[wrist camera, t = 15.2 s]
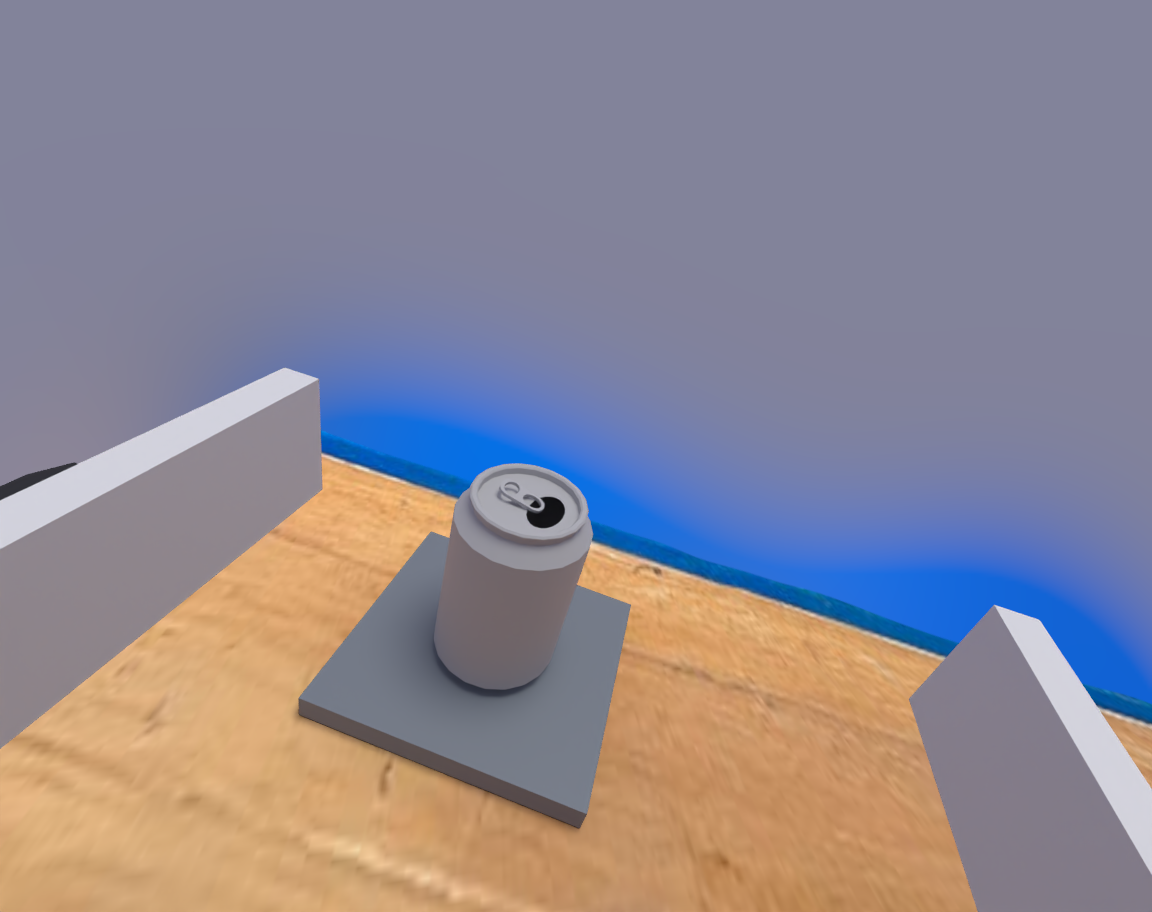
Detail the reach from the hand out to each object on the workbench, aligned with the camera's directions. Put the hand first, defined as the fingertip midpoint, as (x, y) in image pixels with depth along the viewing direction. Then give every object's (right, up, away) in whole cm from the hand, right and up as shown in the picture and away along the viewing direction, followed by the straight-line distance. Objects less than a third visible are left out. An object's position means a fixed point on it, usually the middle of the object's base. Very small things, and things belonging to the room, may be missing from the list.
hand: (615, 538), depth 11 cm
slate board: (-6, -11, +24) cm, 28 cm away
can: (-6, -10, +23) cm, 26 cm away
